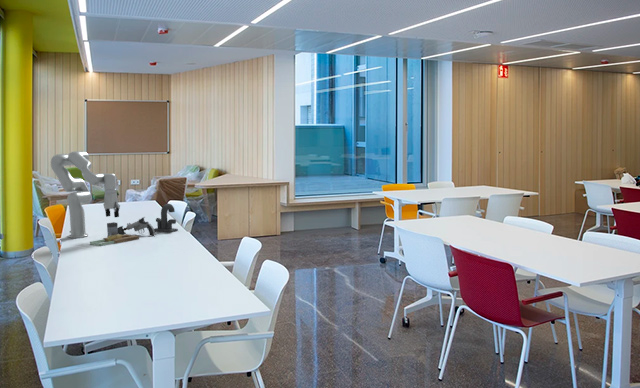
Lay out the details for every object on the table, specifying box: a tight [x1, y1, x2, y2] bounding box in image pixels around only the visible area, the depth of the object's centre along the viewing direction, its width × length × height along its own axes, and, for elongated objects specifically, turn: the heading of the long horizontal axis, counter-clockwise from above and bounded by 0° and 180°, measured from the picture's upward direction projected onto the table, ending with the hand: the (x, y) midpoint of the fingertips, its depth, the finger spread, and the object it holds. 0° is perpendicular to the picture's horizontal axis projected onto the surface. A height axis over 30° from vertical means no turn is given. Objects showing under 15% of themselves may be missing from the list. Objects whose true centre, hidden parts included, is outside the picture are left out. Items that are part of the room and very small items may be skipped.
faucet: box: [154, 203, 179, 234], centre depth 414 cm, size 18×16×20 cm
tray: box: [89, 238, 116, 247], centre depth 364 cm, size 11×11×2 cm
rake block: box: [106, 221, 119, 236], centre depth 383 cm, size 4×5×11 cm
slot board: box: [102, 233, 140, 244], centre depth 376 cm, size 14×18×2 cm
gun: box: [118, 216, 156, 237], centre depth 397 cm, size 5×27×15 cm, turn 78°
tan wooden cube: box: [106, 235, 117, 242], centre depth 370 cm, size 4×4×4 cm
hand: (112, 216), depth 381 cm, fingers open, 9 cm apart
